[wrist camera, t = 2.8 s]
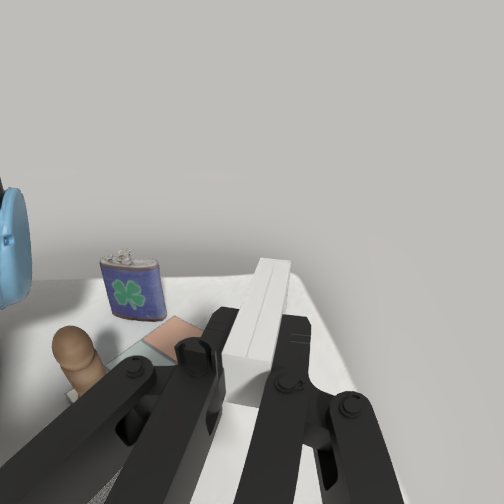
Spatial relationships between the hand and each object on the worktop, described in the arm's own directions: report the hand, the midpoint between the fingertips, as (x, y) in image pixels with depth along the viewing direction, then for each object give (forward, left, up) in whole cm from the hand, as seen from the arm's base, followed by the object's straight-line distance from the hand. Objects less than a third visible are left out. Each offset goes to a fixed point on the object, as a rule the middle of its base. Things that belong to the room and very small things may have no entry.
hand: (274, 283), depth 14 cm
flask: (-24, +6, -18) cm, 31 cm away
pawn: (-15, -7, -17) cm, 24 cm away
